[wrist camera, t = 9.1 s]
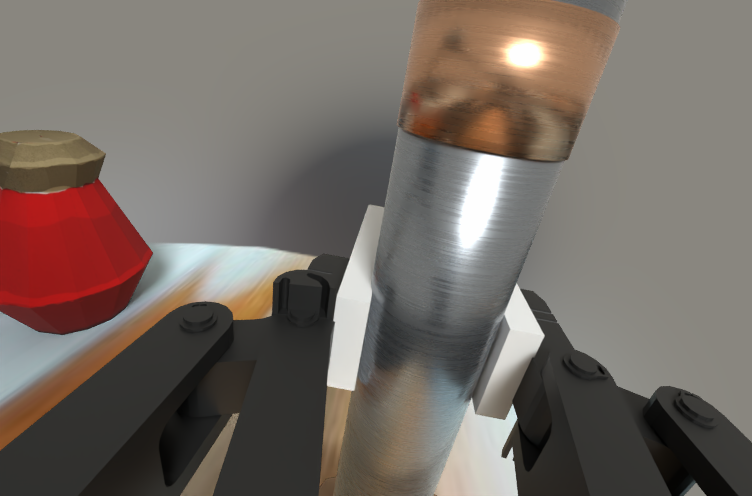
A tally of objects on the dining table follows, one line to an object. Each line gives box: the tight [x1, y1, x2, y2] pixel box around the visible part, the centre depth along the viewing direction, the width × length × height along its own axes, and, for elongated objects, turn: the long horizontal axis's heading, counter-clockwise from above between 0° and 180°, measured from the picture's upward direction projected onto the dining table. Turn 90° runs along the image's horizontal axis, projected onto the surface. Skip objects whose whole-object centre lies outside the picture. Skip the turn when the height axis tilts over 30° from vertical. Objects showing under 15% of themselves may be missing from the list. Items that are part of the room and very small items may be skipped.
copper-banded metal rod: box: [333, 0, 627, 496], centre depth 9 cm, size 3×3×18 cm
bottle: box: [0, 130, 153, 335], centre depth 37 cm, size 16×14×20 cm
